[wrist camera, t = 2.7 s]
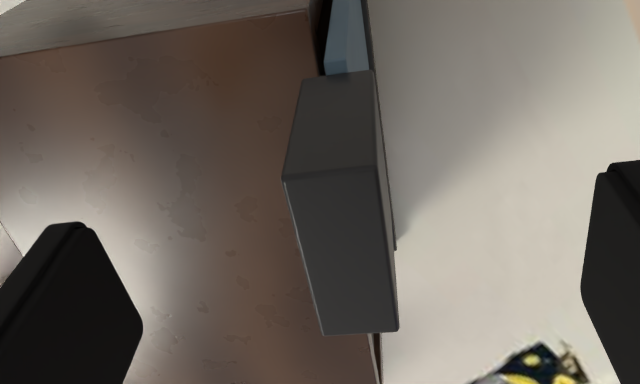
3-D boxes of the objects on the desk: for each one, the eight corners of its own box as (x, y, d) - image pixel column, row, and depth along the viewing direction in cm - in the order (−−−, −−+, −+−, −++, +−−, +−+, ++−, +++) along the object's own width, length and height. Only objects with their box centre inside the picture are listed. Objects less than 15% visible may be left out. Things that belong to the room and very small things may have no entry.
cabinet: (356, -86, 22) (353, 0, 12) (396, 242, 32) (411, 429, 22) (87, -36, 24) (-101, 72, 14) (206, 258, 34) (144, 439, 24)
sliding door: (366, -63, 21) (376, 150, 8) (387, 125, 26) (415, 447, 13) (327, -56, 22) (274, 161, 8) (355, 129, 26) (350, 449, 13)
